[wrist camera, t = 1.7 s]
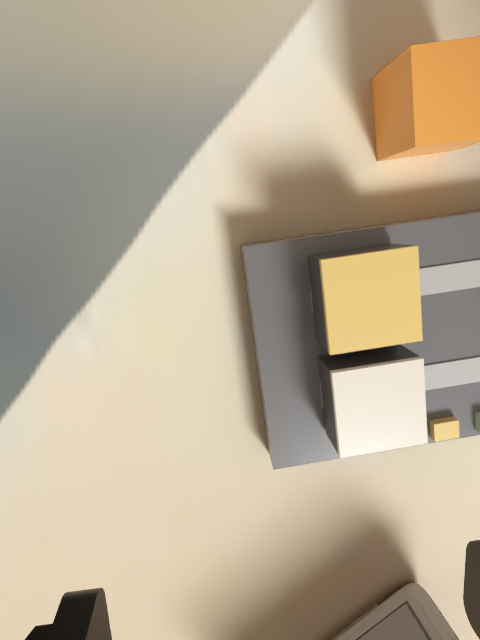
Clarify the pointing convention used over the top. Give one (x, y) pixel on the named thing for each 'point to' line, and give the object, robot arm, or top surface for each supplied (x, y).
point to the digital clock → (401, 619)
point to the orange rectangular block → (428, 99)
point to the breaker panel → (436, 348)
